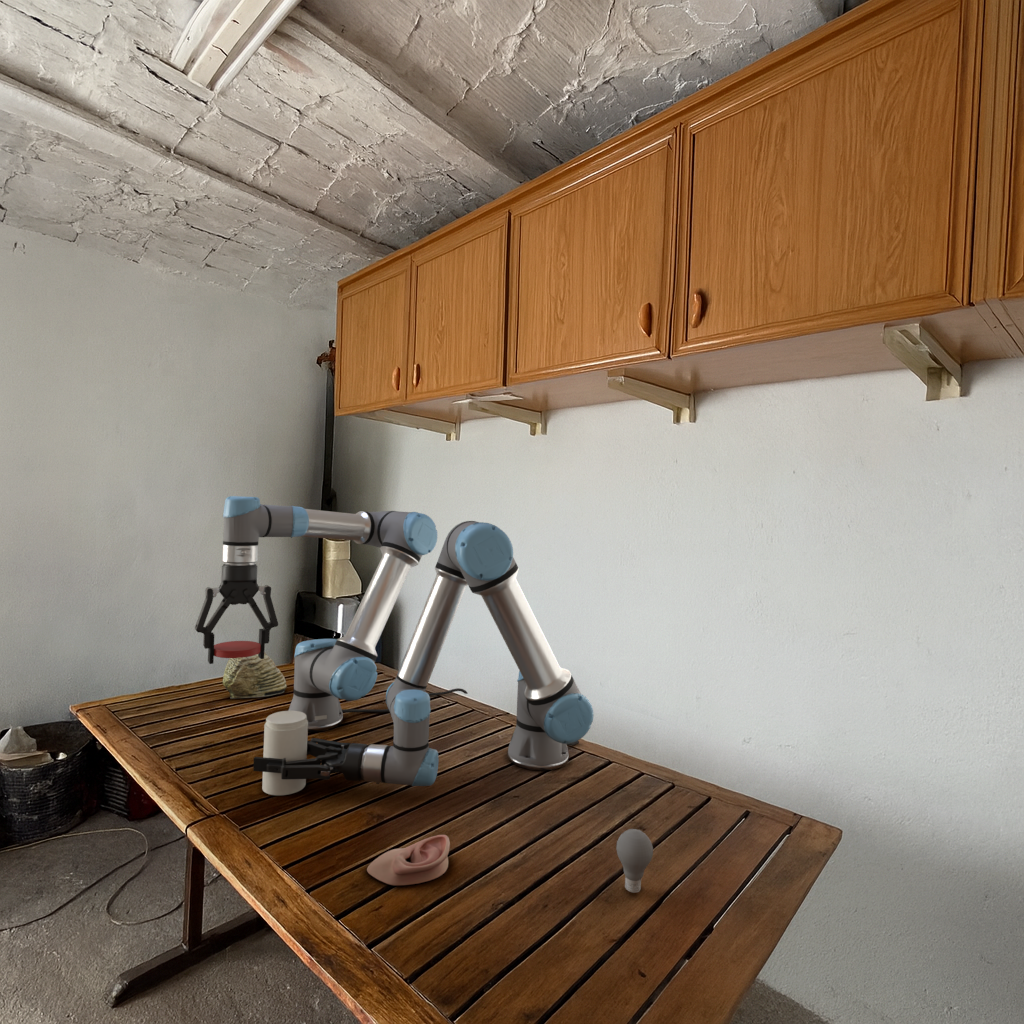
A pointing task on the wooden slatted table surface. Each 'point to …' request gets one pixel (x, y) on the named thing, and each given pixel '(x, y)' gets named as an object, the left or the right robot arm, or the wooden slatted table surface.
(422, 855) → the anatomical model
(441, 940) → the wooden slatted table surface
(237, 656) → the lid
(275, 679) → the fossil
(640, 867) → the light bulb
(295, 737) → the jar
